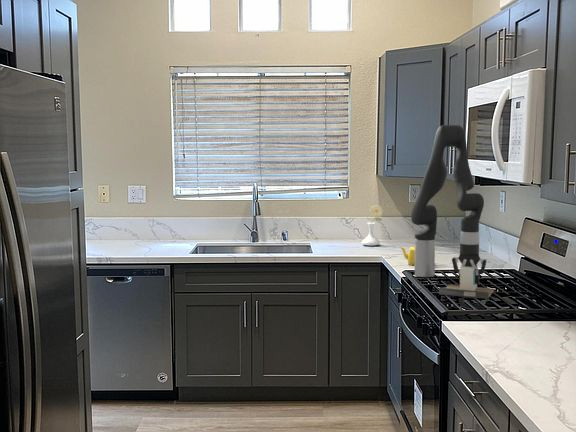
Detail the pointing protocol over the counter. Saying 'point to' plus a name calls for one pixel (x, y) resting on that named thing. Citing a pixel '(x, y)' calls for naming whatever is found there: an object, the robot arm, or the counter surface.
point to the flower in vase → (371, 239)
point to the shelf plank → (466, 292)
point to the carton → (467, 278)
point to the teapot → (410, 255)
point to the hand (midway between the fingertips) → (468, 283)
